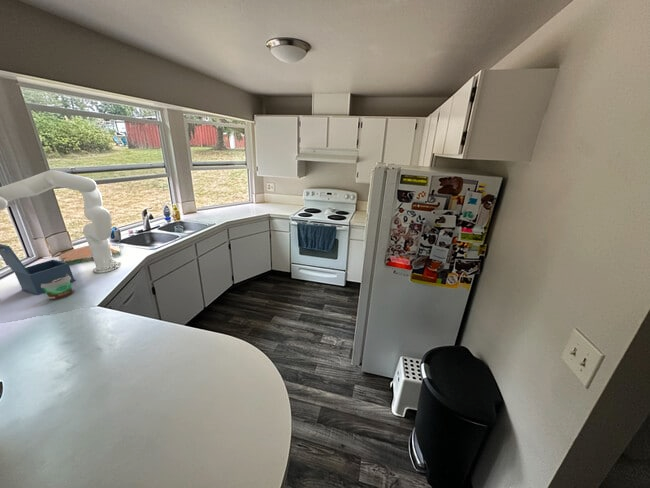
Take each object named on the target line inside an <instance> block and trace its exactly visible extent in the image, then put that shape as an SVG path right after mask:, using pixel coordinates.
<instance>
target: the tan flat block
mask: <svg viewBox="0 0 650 488" xmlns="http://www.w3.org/2000/svg"><path fill="white" fill-rule="evenodd" d="M109 246H110V250H111V253H112V256H113V255H114V256H113V258H114V257H116V255H117V257H118V256H120V255H121V253H120V252H121V248H120V245H113V244H111V243H109ZM88 258H89V261H93V262H94V259H93V256H92V253H91V250H90V247H89V245H85V246H81V247H77V248H74V249H70V250H67V251H66V252H65V253H61V254H59V257H58V260H62V262H65V263H68V264H69V266H70V265H76V264H79V263H80V264H81V263H83V261H81V260H83V259H88ZM80 261H81V262H80ZM85 262H88V260H85Z"/></svg>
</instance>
